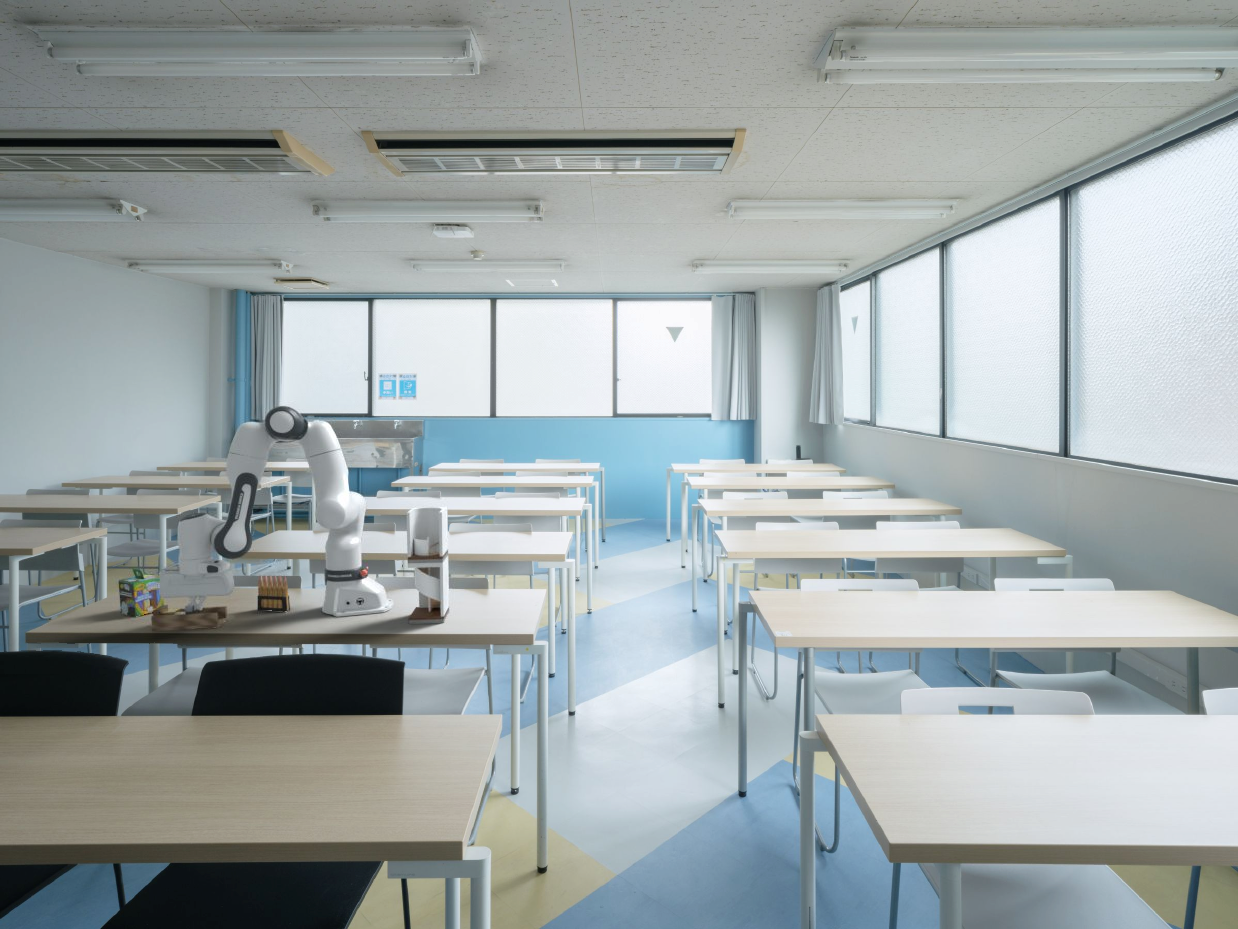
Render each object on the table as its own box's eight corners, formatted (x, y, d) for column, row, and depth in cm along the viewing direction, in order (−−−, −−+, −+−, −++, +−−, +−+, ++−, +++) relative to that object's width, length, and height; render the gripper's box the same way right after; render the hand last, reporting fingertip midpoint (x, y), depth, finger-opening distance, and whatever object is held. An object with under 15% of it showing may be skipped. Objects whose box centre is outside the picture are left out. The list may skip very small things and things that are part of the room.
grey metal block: (198, 620, 212) (197, 602, 212) (192, 623, 208) (192, 606, 208) (181, 620, 211) (180, 603, 211) (175, 624, 207) (174, 607, 207)
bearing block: (227, 620, 216) (226, 601, 215) (216, 628, 208) (216, 608, 207) (165, 623, 213) (164, 604, 212) (152, 631, 205) (150, 611, 204)
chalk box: (165, 610, 226) (163, 566, 225) (135, 618, 218) (132, 572, 217) (149, 606, 230) (147, 563, 229) (119, 614, 222) (116, 569, 221)
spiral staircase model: (416, 613, 223) (413, 507, 221) (449, 612, 224) (447, 507, 222) (409, 623, 212) (406, 512, 209) (443, 622, 213) (441, 512, 210)
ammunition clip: (290, 610, 226) (289, 575, 225) (286, 612, 225) (285, 576, 224) (261, 609, 228) (259, 573, 227) (257, 610, 226) (255, 575, 225)
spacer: (175, 624, 208) (174, 612, 207) (160, 625, 207) (160, 612, 207) (181, 620, 211) (180, 608, 211) (167, 621, 211) (166, 608, 210)
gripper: (153, 569, 204) (156, 615, 205) (227, 567, 208) (229, 611, 209) (163, 565, 210) (166, 609, 211) (235, 562, 214) (237, 605, 215)
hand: (198, 610), depth 210 cm, fingers closed
